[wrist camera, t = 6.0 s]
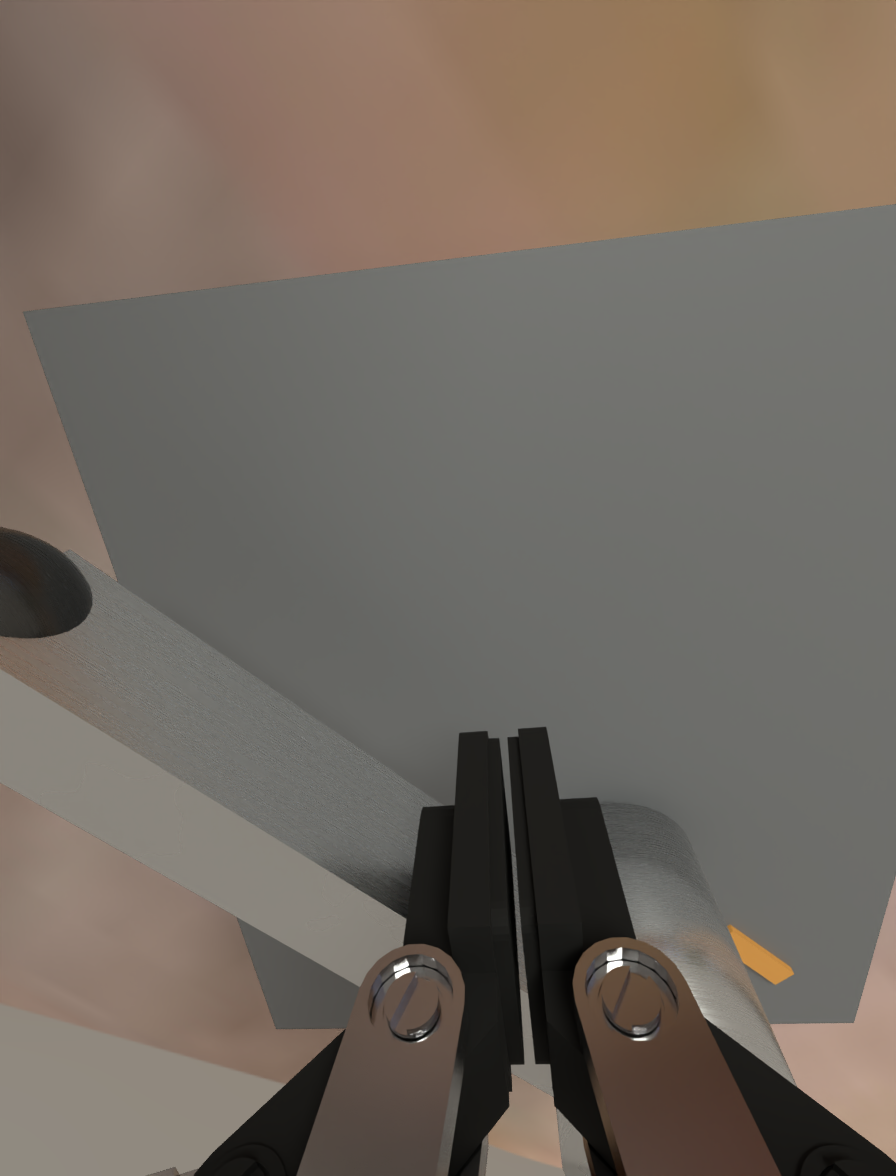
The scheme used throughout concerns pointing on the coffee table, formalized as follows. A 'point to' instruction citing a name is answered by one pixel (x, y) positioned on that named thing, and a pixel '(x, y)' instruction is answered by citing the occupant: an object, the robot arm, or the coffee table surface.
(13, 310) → the coffee table surface
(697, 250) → the stand plate
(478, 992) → the robot arm
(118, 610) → the bar with ball ends
